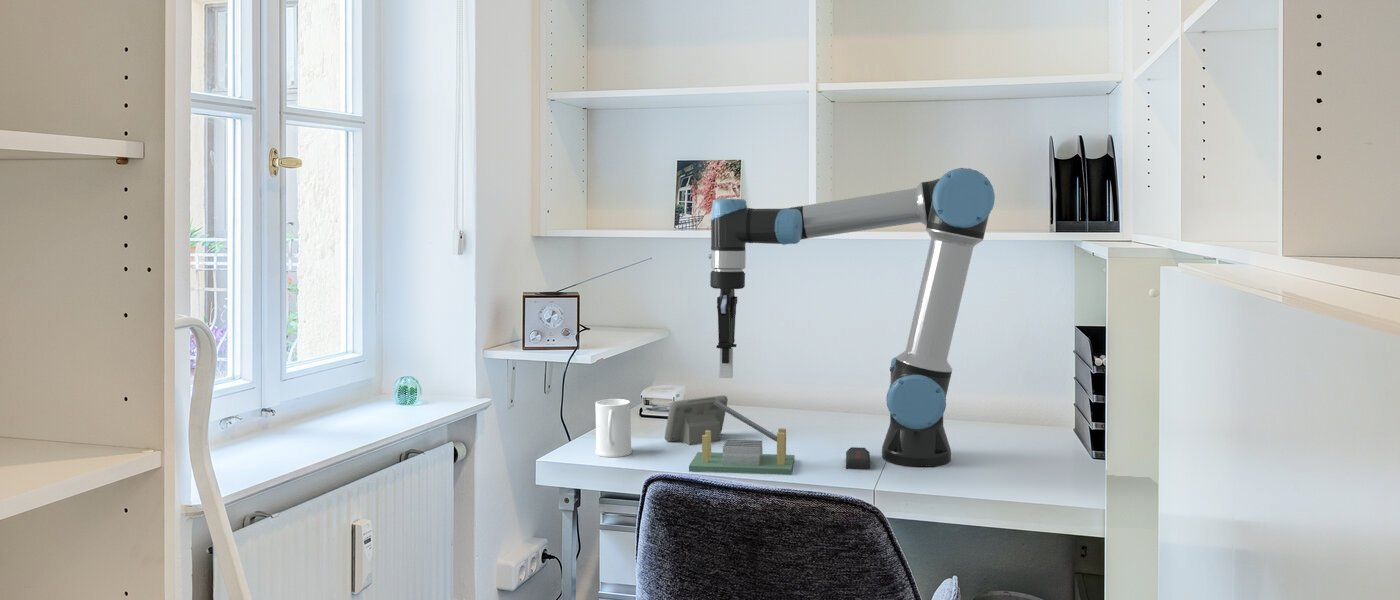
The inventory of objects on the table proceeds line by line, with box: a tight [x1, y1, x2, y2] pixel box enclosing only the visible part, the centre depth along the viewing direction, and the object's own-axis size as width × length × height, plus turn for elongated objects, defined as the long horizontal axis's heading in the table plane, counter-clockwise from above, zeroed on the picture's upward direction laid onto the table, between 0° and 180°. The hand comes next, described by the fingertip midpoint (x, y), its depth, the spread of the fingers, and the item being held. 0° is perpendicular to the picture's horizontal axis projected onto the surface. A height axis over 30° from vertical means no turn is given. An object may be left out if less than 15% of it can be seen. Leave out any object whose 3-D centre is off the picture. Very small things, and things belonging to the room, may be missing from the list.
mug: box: [594, 398, 633, 458], centre depth 218 cm, size 12×8×12 cm
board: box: [688, 427, 796, 476], centre depth 207 cm, size 22×12×8 cm, turn 81°
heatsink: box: [722, 438, 764, 466], centre depth 207 cm, size 8×8×4 cm
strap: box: [713, 400, 777, 443], centre depth 206 cm, size 18×3×1 cm
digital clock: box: [664, 395, 728, 446], centre depth 232 cm, size 16×9×11 cm, turn 108°
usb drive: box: [845, 446, 871, 471], centre depth 210 cm, size 5×12×3 cm, turn 171°
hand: (726, 377), depth 207 cm, fingers closed
